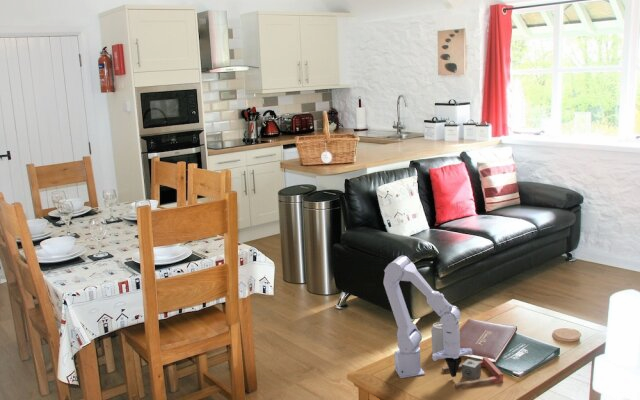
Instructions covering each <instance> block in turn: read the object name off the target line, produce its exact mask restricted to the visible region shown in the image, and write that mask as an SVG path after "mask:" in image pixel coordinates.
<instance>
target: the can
mask: <svg viewBox="0 0 640 400" xmlns="http://www.w3.org/2000/svg"><path fill="white" fill-rule="evenodd" d="M430 330H431V347H432V348H431V349H432V354H434V353H437V352H440V351H443V350H444V337H443V325H442V323H441V321H437V322H435V323H433V324H432V327H431V328H430Z"/></svg>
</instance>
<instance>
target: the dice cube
mask: <svg viewBox="0 0 640 400" xmlns="http://www.w3.org/2000/svg"><path fill="white" fill-rule="evenodd" d="M478 361H479V360H475V359H471V358H470V359H469V358H467V359H466V360H465V361H464V362H462V370H461V376H462V378H466V379H468V380H478V378H479V377H480V376H481V375H482V367H481V362H478Z"/></svg>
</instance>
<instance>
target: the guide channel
mask: <svg viewBox="0 0 640 400" xmlns="http://www.w3.org/2000/svg"><path fill="white" fill-rule="evenodd" d="M477 361H478V362H481V368H483V367H482V366H484V368H485V367H486V368H487V369H488V370H487V369H486V370H487V371H488V372H489V373H490V374H491V375H492V376H490V377H486V378H479V379H478V378H477V379H476V380H472V379H470V380H467V381H466V380H464V381H460V382H459V381H458V382H454V388H455V390H459V389H465V388H472V387H478V386H485V385H491V384H497V383H503V382H504V373H503V372H501V371H502V370H500V369H499V368H498V367H497V365H495V364H494V363H493V362H492V361H491V360H490V359H489V358H488V357H487V356H483V357H482V360H477ZM462 364H463V363H462ZM462 364H461V363H460V365H459V367H458V369H457V372H458V371H462ZM441 371H442V372H443V373H450V370H449V367H448V365H447V366H443V367H441Z"/></svg>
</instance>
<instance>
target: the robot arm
mask: <svg viewBox="0 0 640 400" xmlns="http://www.w3.org/2000/svg"><path fill="white" fill-rule="evenodd" d="M383 271H384V277H383V283H382V284H383V286H384V289H385V293H386V295H387V299H388V303H389V304H390V307H391V311H392V313H393V316H394V319H395V322H396V326H397V330H396V331H397V332H396V339H397V347H398V350H396V351H394V353H393V354H394V370H395V372H396V373H397V375H398V377H399V378H400V379H403V378H411V377H418V376H422V375H423V376H424V375H426V373H425V371H424V370H423V369H422V365H421V347H420V343H421V342H422V339H423V336H422V332H420V330H418V327H417V325H416V324H415V323H414V322H412V320H411V316H410V313H409V310H408V308H407V304H406V301H405V297H404V295H403V292H402V289H401V286H400V281H401V282H403V281H404V282H411V283H412V284H413V285H414V287H416V288H417V289H418V290H419V292H421V293H422V294H423V295H424V296H425V297H426V303H427V304H428V306H429V307H431V309H432V310H433V311H434V312H435V313H436V314H437V315H438V316H439V317H440V318H439V322H441V323H442V325H443V337H444V350H443V351H440V352H437V353H431V358H432V361H434V362H436V361H437V360H443V359H444V360H445V362H446V365H447V366H448V367H449V370H450V372H449V374H450V376H451V377H452V378H455V377H457V373H458V371H457V369H458V367H459V365H460V364H461V363H462V358H461V357H463V356H473V355H474V353H473V349H472V348H471V347H468V348H467V347H465V348H464V347H463V348H461V338H460V337H461V334H460V319H461V317H462V313H461V311H460V309H459V307H457V306H456V305H453V304H451V303H450V302H448V300H447V299H446V298H445V295H444V294H443V293H441V292H440V291H437V290H434V289H433V288H432V287H431V285H430V284H429V283H428V282H427V281H426V279H425V278H424V276H423V275H422V274H421V273H420V272H419V271H418V269H417V267H416V265H415V264H414V262H412V261H411V259H410V258H409V257H408V256H406V255H400V256H398V257H396V258H395V259H394V260H393V261H391V262H390V263H388V264H387V266H386V267H385V269H383Z"/></svg>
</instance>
